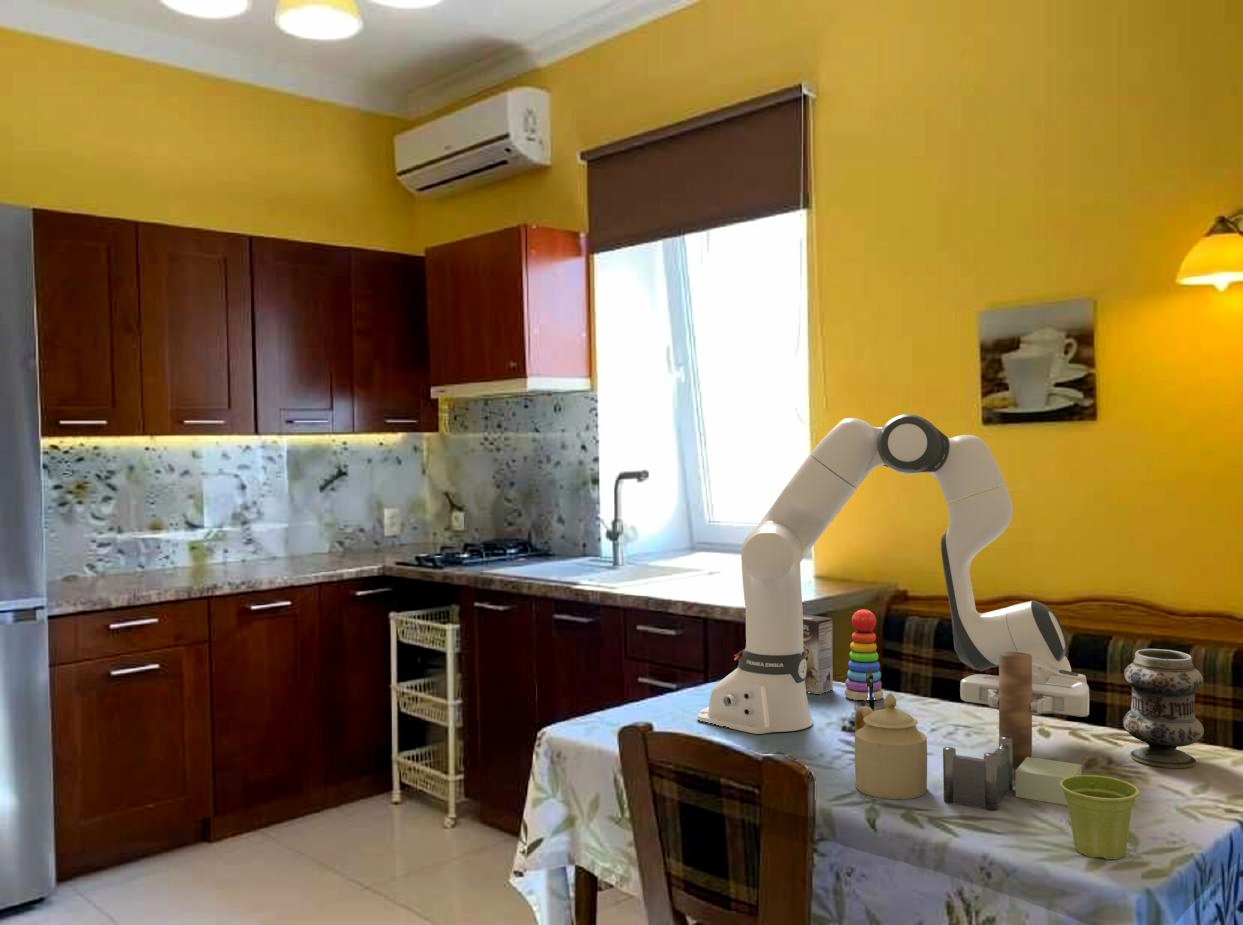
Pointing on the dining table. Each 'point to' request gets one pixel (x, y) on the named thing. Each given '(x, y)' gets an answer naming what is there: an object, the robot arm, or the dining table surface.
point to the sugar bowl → (889, 753)
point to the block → (1044, 779)
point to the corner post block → (978, 777)
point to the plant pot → (1099, 814)
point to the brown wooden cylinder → (1016, 703)
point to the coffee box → (818, 653)
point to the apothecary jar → (1163, 707)
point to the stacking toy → (863, 658)
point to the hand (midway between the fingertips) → (1014, 705)
